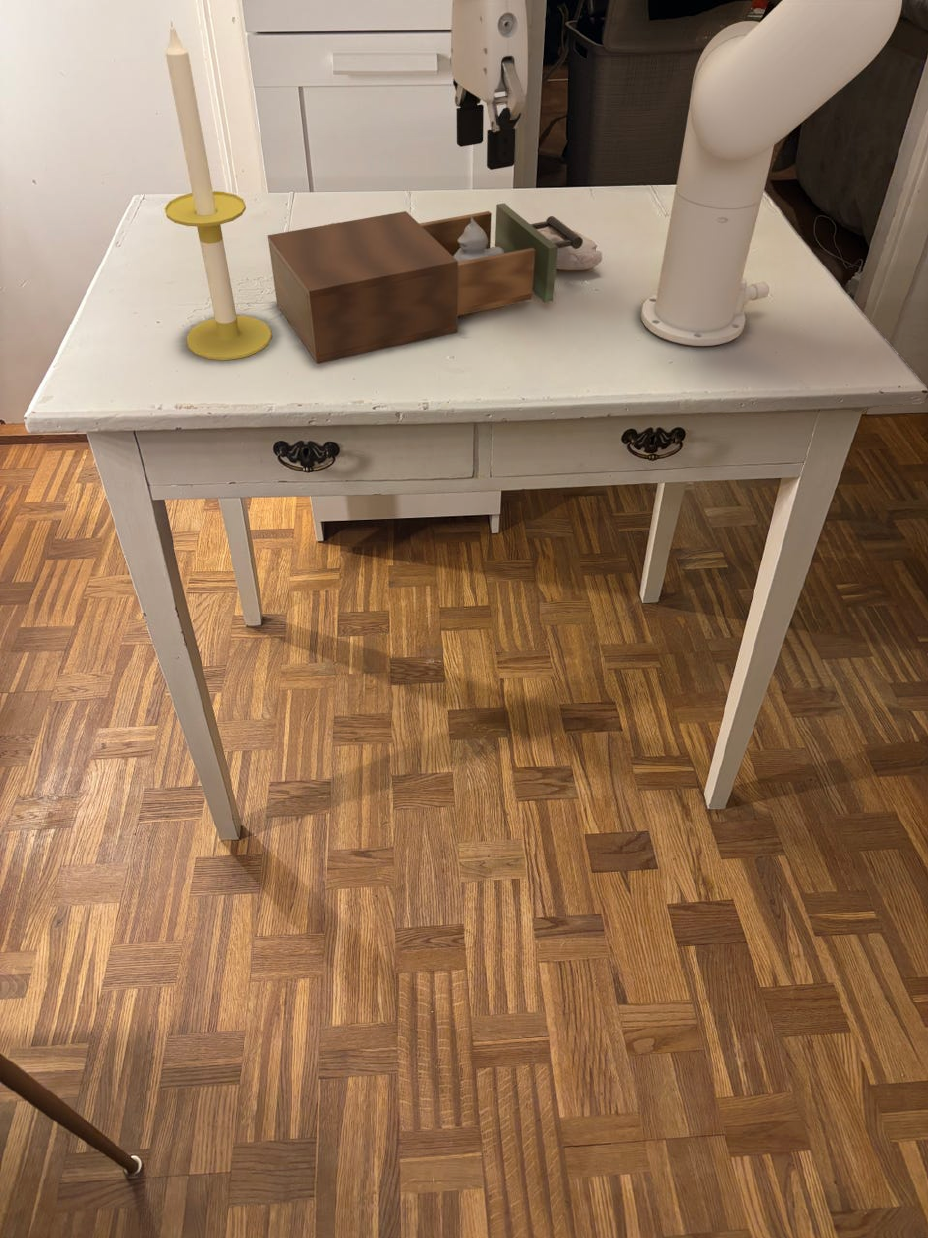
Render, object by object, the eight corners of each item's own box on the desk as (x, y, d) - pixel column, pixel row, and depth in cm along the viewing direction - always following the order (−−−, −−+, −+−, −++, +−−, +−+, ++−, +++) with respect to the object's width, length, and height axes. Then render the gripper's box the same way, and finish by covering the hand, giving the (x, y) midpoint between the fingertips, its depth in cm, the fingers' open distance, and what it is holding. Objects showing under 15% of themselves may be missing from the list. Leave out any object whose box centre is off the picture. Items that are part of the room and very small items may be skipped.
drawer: (539, 247, 126) (543, 195, 121) (592, 292, 117) (599, 238, 112) (387, 277, 119) (384, 224, 114) (431, 327, 110) (431, 272, 105)
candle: (175, 329, 111) (103, 14, 88) (254, 310, 115) (205, 2, 91) (202, 368, 105) (132, 40, 82) (284, 346, 109) (240, 27, 85)
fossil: (507, 220, 125) (570, 212, 128) (504, 252, 127) (567, 243, 131) (552, 251, 117) (618, 241, 120) (548, 284, 119) (613, 273, 123)
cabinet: (408, 278, 121) (406, 210, 115) (457, 332, 112) (458, 261, 105) (276, 304, 116) (267, 234, 109) (317, 363, 106) (309, 290, 100)
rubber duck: (447, 271, 118) (447, 207, 112) (497, 267, 119) (500, 204, 113) (455, 291, 114) (456, 226, 109) (507, 287, 115) (510, 222, 110)
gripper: (562, -18, 89) (550, 176, 101) (482, -51, 100) (481, 126, 112) (492, -9, 86) (489, 187, 99) (418, -45, 97) (424, 136, 110)
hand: (485, 154), depth 106 cm, fingers open, 7 cm apart
